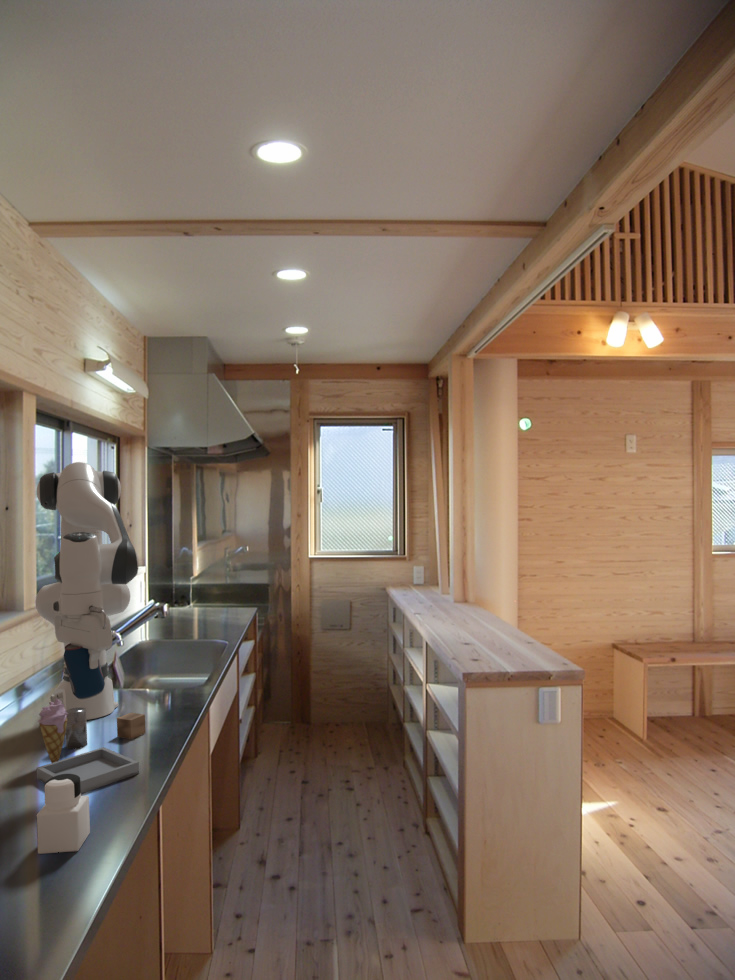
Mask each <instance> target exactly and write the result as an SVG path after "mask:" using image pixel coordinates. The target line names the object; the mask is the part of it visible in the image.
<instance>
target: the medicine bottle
mask: <svg viewBox="0 0 735 980" xmlns="http://www.w3.org/2000/svg"><path fill="white" fill-rule="evenodd" d="M43 784H44V805H43V807H42V808H41V809H40V810H39V811H38V813H37V814H36V817H35V818H36V819H35V820H36V841H37V842H36V843H37V844H36V845H37V846H36V847H37V854H39V855H43V854H58V852H59V853H70V852H79V850H80V849H81V847H82V845H83V844H84V842H85V841H86V840H87V838H88V837H89V836H90V835H89V834H90V833H91V824H90V823H91V822H90V817H91V816H90V796H89V795H82V794H81V785H80V777H79V776H78V775H75V774H61V775H57V776H54V777H52V778H50V779H49V780H47V781H46V783H43Z"/></svg>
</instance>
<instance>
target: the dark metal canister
mask: <svg viewBox="0 0 735 980" xmlns="http://www.w3.org/2000/svg"><path fill="white" fill-rule="evenodd" d="M66 712H67V713H68V715H67V716H66V718H67V726H66V732H65V749H67V750H78V749H83V748H85V747H87V746H88V730H87V729H88V728H87V725H88V724H87V720H86V708H72V709H69V710H66Z"/></svg>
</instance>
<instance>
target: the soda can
mask: <svg viewBox="0 0 735 980" xmlns="http://www.w3.org/2000/svg"><path fill="white" fill-rule="evenodd" d="M89 657H90V654H89V649H86V648H83V647H82V646H80V647H78V645H77V646H75V645H73V644H72V645H71V643H70V644H68V645H66V646H65V649H64V653H63V659H64V663H65V667H66V668H67V672H68V676H69V680H70V684H71V688H72V692H73V694H74V695H75V696H76V697H77V698H78V699H88V698H91V697H94V696H96V695H98V694H100V693H101V692H102V691H103V689H104V686H105V682H104V678H103V674H102V670H101V666H100V662H99V659H98V667H97V668H95V669H90V668H89V667H88V661H89Z"/></svg>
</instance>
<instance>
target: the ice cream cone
mask: <svg viewBox="0 0 735 980" xmlns="http://www.w3.org/2000/svg"><path fill="white" fill-rule="evenodd" d="M48 703H49V705H48V706H44V707H42V710H41V711H40V712H39V714H38V715H39V716H40V717H41V718H40V719H39V720H38V723H39V728H40V732H41V736H42V738H43V742H44V746H45V748H46V751H47V754H48V757H49V761H50V763H54V762H57V761H60V758H61V754H62V749H63V746H64V741H65V738H66V726H67V718H66V716H67V715H68V713H67V712H66V710H65V708H64V704H61V703H62V702H61V701H60V700H59V699H56V700H55V703H53V702H51V701H50V702H49V701H48Z"/></svg>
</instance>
